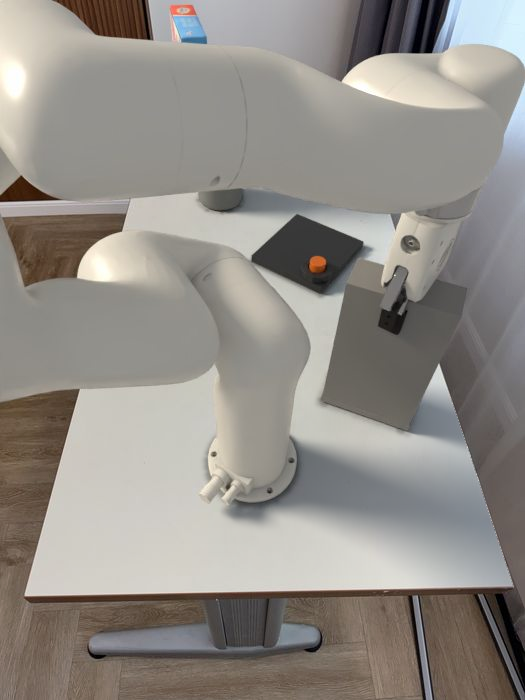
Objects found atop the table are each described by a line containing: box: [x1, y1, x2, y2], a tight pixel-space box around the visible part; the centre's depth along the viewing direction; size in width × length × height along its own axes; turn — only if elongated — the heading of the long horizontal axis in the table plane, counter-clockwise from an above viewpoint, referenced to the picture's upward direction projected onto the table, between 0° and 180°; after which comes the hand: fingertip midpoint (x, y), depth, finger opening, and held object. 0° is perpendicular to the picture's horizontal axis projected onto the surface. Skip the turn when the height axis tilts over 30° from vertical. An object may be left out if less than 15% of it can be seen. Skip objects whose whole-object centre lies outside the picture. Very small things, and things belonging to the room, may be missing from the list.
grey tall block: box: [320, 257, 468, 432], centre depth 70 cm, size 14×6×25 cm, turn 68°
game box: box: [168, 4, 208, 44], centre depth 119 cm, size 21×6×27 cm, turn 13°
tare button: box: [309, 256, 326, 273], centre depth 94 cm, size 3×3×2 cm
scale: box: [251, 213, 364, 295], centre depth 100 cm, size 17×16×3 cm
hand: (397, 313), depth 64 cm, fingers closed on grey tall block, 5 cm apart
